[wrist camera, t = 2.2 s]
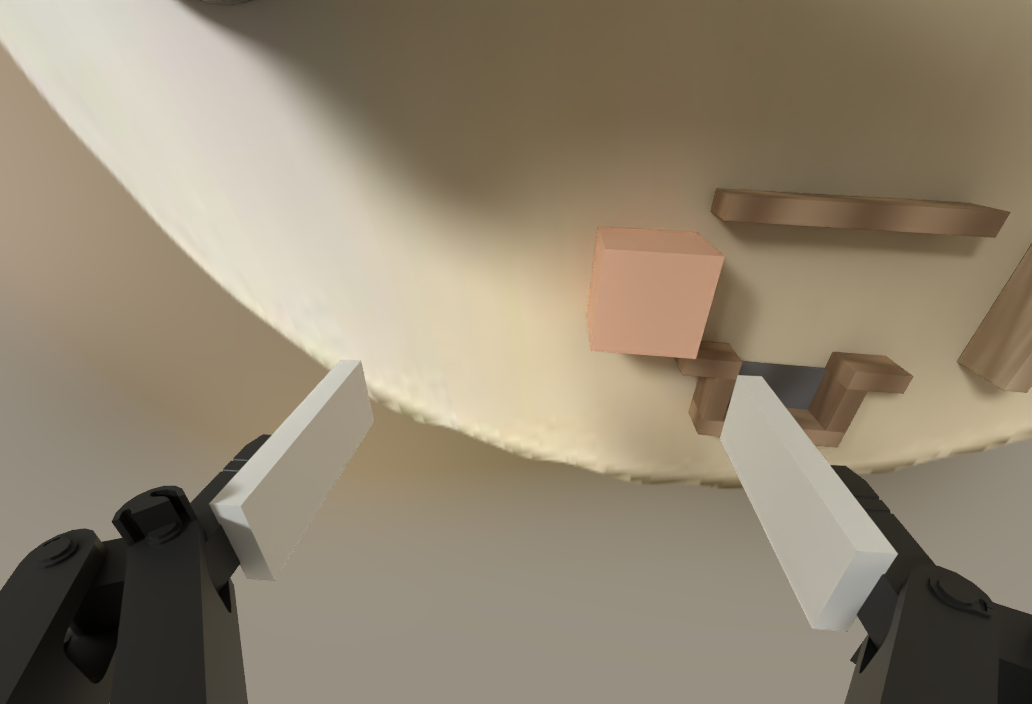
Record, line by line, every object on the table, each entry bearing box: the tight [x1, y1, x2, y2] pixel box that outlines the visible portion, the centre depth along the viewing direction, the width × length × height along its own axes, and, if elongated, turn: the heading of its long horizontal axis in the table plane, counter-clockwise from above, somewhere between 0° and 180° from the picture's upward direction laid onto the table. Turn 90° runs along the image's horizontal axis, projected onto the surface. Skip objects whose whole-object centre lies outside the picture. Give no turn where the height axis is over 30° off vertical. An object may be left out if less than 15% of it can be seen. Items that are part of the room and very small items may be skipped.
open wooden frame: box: [674, 188, 1032, 447], centre depth 31 cm, size 23×18×4 cm
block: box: [587, 227, 725, 359], centre depth 30 cm, size 7×7×6 cm
